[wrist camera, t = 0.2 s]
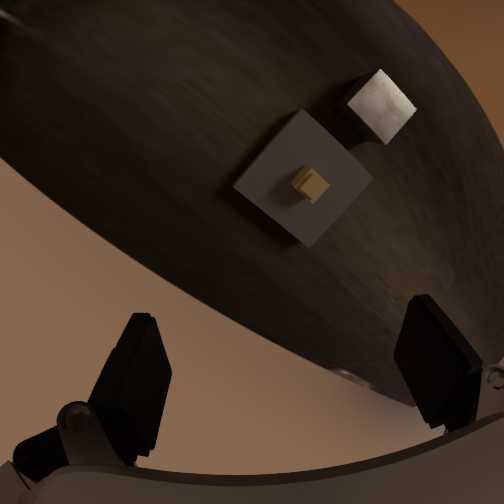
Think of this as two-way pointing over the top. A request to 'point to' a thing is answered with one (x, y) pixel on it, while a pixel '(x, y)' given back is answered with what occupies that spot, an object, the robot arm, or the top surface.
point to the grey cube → (375, 107)
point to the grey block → (303, 178)
